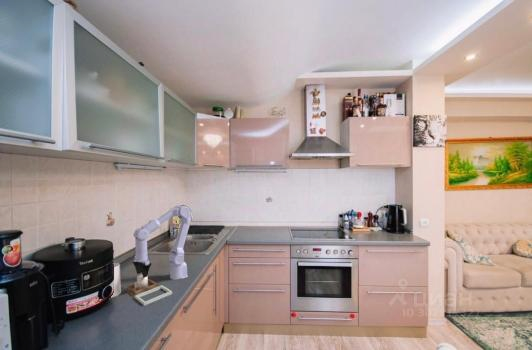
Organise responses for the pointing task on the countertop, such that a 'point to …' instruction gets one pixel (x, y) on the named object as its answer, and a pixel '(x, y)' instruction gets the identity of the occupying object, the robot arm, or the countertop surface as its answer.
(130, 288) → the tray
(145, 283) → the white rounded piece
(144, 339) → the countertop surface
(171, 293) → the tray
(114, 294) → the cup
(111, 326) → the countertop surface
